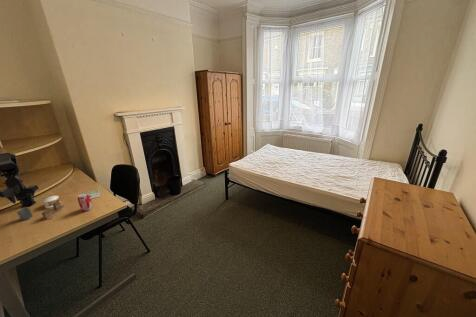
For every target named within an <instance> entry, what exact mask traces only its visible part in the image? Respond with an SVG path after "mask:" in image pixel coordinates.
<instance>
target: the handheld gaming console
mask: <svg viewBox="0 0 476 317" xmlns="http://www.w3.org/2000/svg"><path fill="white" fill-rule="evenodd" d="M85 193H87V194H88V195H89V196H90V199H91V200H93V199H96V198H99V197H100V196H101V194H100V190H99V189H95V190H89V191H86V192H85Z"/></svg>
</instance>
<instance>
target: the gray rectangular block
mask: <svg viewBox="0 0 476 317" xmlns="http://www.w3.org/2000/svg"><path fill="white" fill-rule="evenodd" d="M17 215H18V217H19V219H20V221H21V222H22V221H29V220H30V219H31V218H32V217H33V214H32V212H31V209H30V208H29V207H22V208H21V209H20V210H18V211H17Z"/></svg>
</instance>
